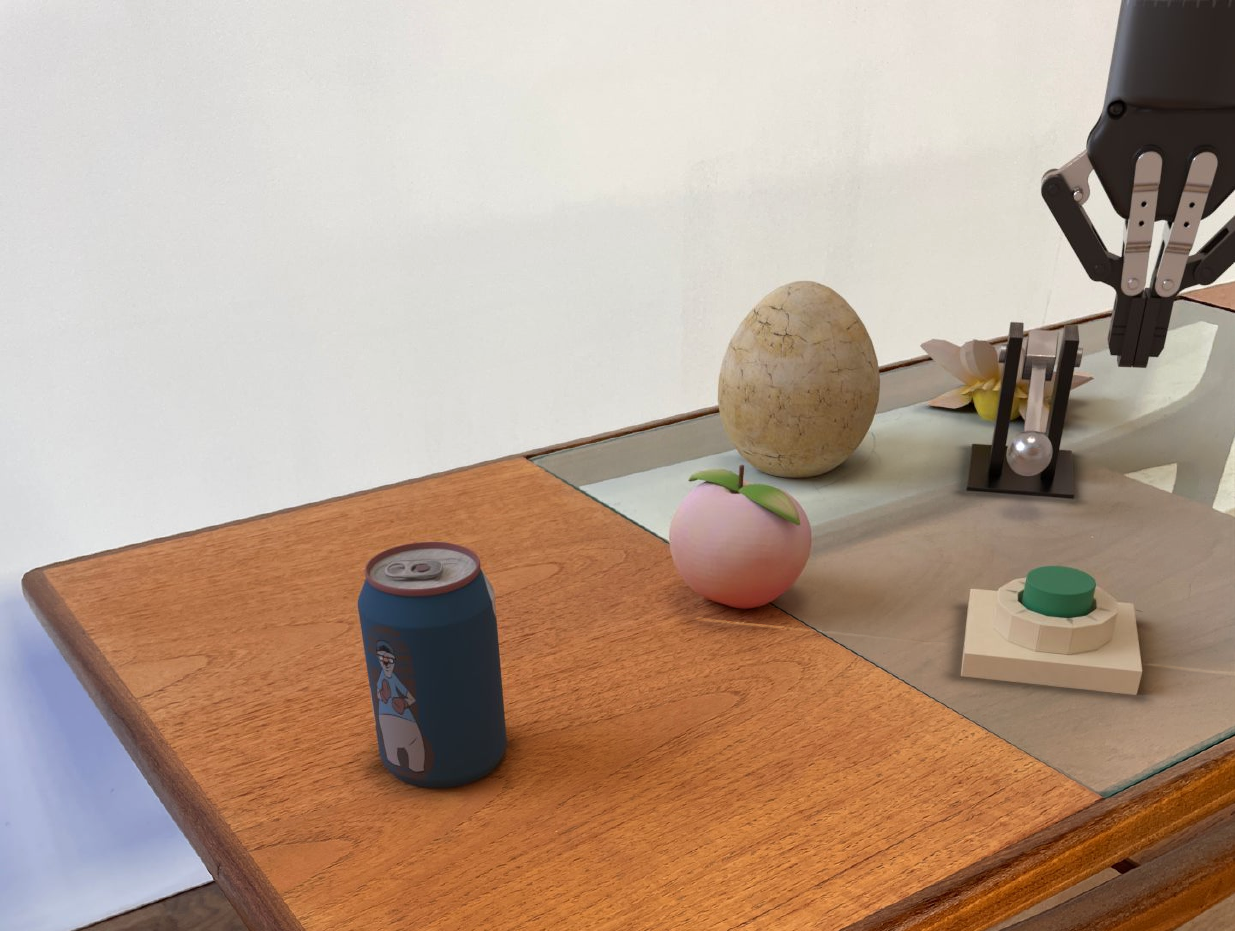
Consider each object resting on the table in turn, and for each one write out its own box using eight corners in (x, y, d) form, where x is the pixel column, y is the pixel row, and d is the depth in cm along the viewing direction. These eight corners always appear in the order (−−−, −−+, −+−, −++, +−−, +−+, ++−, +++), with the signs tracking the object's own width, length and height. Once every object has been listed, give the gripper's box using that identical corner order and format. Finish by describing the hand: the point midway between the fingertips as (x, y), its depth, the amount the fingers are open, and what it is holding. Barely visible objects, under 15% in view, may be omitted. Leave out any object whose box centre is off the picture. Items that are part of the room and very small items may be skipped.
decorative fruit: (640, 617, 85) (639, 471, 79) (709, 574, 90) (712, 434, 84) (761, 656, 80) (768, 504, 75) (826, 608, 86) (838, 462, 80)
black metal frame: (1071, 509, 98) (1102, 352, 92) (964, 501, 100) (987, 346, 93) (1069, 464, 106) (1097, 316, 99) (970, 457, 108) (991, 311, 101)
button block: (1126, 634, 82) (1140, 576, 79) (1134, 704, 75) (1149, 643, 72) (965, 618, 84) (974, 562, 82) (959, 685, 77) (968, 625, 75)
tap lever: (1047, 487, 93) (1054, 455, 91) (1001, 483, 94) (1007, 452, 91) (1059, 360, 99) (1066, 326, 96) (1016, 357, 100) (1022, 324, 97)
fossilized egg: (686, 484, 104) (689, 290, 96) (761, 438, 113) (770, 256, 104) (828, 515, 99) (845, 312, 90) (895, 464, 107) (917, 274, 98)
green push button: (1089, 595, 78) (1095, 568, 77) (1091, 624, 75) (1097, 597, 74) (1022, 589, 79) (1026, 562, 78) (1021, 617, 76) (1026, 590, 75)
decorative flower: (1129, 398, 114) (1134, 287, 107) (1070, 462, 109) (1071, 350, 102) (976, 379, 123) (972, 276, 116) (915, 437, 118) (906, 333, 111)
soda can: (511, 731, 74) (495, 534, 67) (505, 799, 68) (487, 593, 61) (390, 734, 74) (362, 538, 67) (374, 803, 68) (342, 597, 61)
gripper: (1061, -6, 59) (1005, 378, 69) (1379, -11, 56) (1271, 391, 66) (1059, -16, 64) (1008, 339, 75) (1347, -21, 61) (1252, 349, 72)
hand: (1131, 363), depth 70 cm, fingers closed
